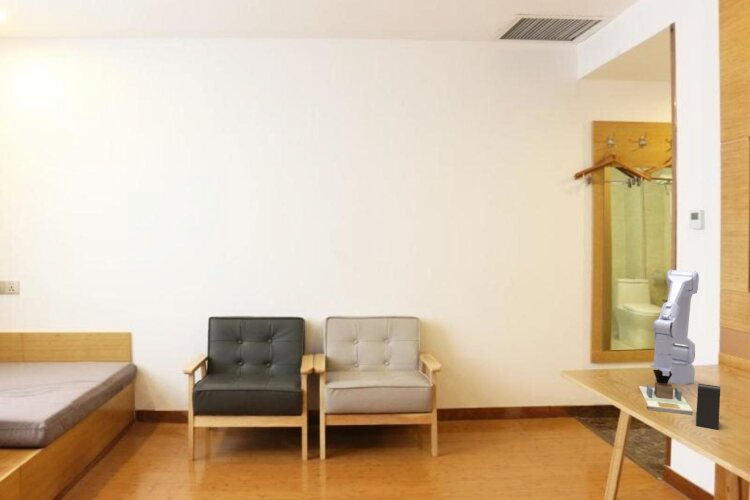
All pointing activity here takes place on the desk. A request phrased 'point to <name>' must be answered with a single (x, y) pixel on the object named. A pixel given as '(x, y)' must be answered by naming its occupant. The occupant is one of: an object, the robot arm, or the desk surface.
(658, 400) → the pad
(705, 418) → the black open bin
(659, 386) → the block
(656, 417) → the desk surface
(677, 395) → the board
